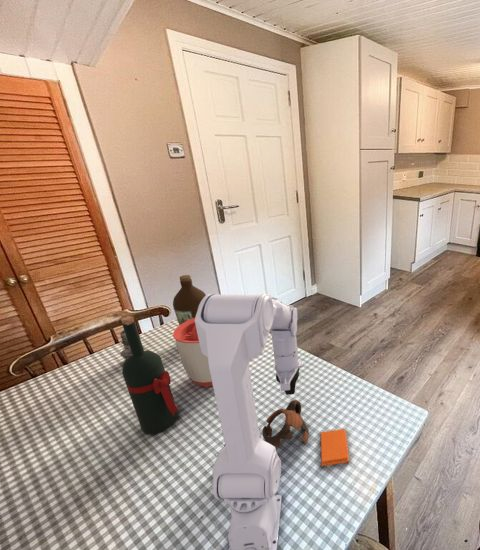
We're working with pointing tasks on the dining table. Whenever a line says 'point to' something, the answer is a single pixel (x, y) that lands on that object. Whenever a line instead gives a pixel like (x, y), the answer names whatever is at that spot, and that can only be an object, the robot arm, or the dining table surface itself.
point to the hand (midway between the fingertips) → (290, 392)
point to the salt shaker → (125, 346)
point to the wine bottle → (148, 384)
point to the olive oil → (187, 300)
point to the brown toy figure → (286, 425)
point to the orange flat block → (334, 447)
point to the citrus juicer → (192, 353)
